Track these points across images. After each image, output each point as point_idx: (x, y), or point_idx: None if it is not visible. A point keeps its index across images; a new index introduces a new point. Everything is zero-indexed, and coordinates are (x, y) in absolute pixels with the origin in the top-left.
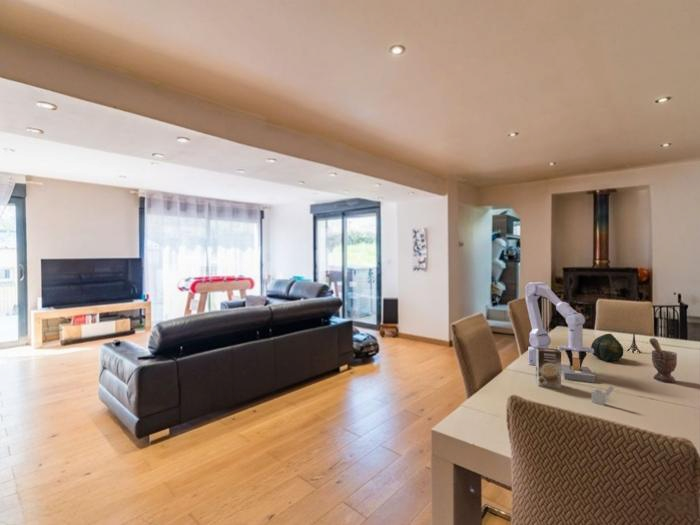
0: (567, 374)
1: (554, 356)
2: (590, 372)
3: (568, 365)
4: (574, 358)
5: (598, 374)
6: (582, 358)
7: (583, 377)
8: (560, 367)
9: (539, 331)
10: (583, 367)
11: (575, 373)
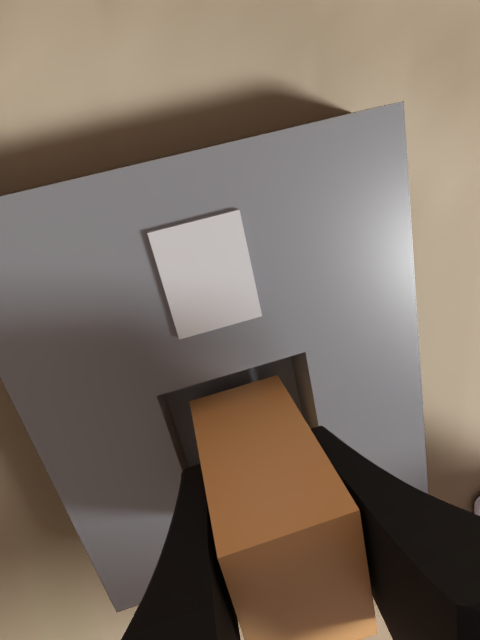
0: (350, 113)
1: None
2: (38, 391)
3: None
4: (324, 570)
5: (12, 570)
6: (168, 604)
7: (117, 168)
8: None
9: None
10: None
11: (241, 179)
